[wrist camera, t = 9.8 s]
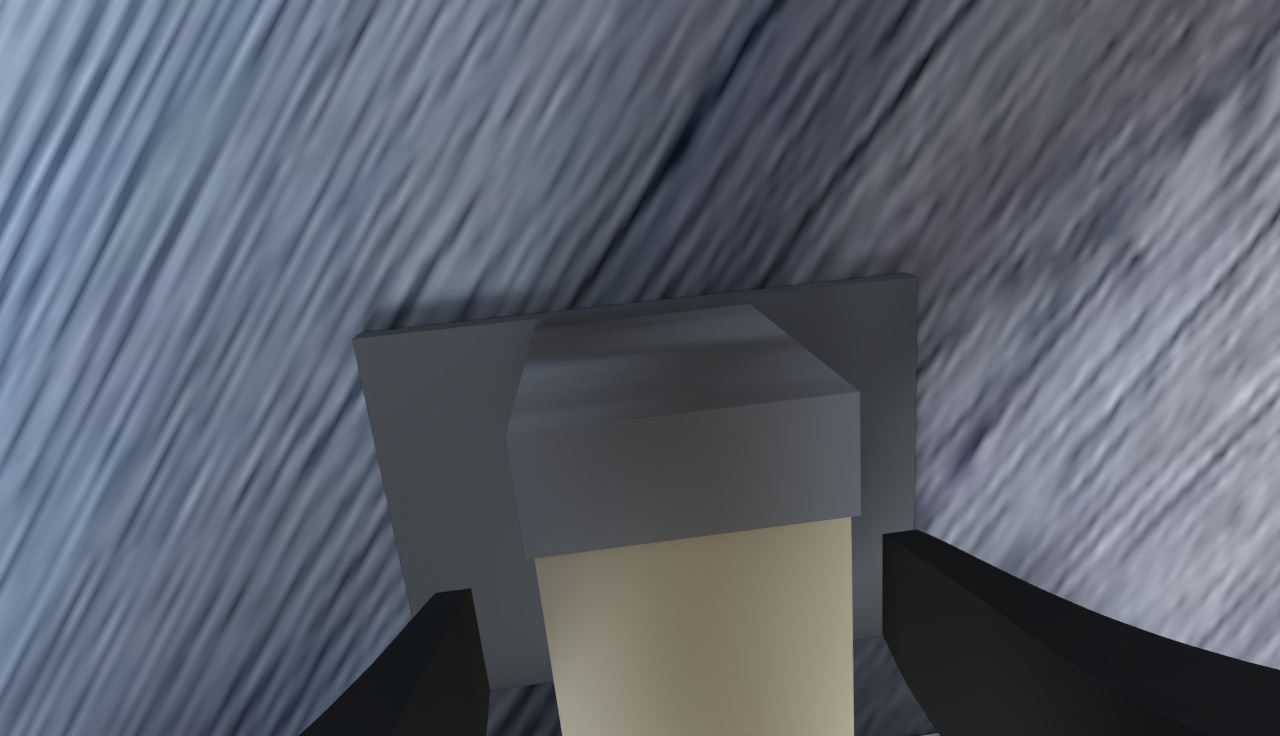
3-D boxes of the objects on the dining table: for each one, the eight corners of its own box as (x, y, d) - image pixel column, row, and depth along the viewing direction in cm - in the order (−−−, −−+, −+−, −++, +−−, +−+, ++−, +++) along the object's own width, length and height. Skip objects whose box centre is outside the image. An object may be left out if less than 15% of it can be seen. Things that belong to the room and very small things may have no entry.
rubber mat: (434, 681, 18) (430, 698, 17) (360, 332, 15) (352, 339, 15) (901, 617, 18) (911, 632, 18) (905, 272, 16) (917, 276, 15)
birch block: (584, 684, 17) (588, 948, 11) (534, 328, 15) (505, 435, 9) (768, 657, 18) (864, 903, 12) (749, 303, 15) (860, 391, 9)
